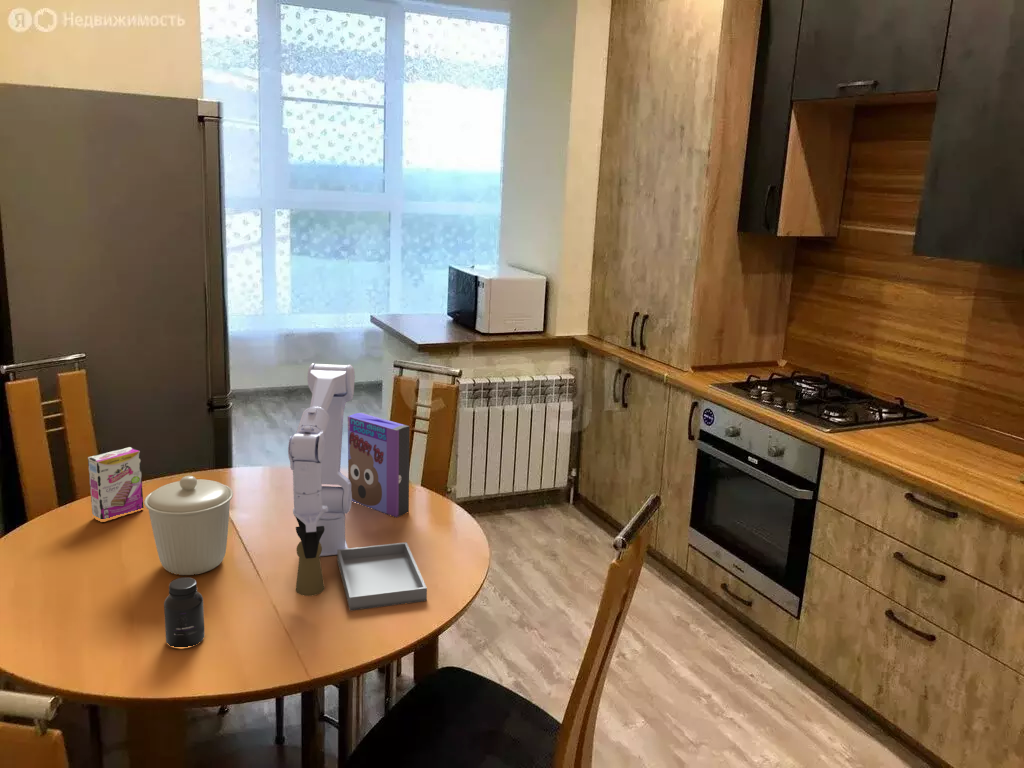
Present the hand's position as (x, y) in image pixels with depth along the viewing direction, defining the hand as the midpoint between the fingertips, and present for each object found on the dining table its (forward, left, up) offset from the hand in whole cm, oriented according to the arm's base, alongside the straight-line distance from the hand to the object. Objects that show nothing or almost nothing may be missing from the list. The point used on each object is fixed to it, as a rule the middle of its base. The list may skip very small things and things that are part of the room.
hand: (309, 549), depth 171 cm
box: (+15, 0, -9) cm, 18 cm away
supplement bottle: (-24, -14, -10) cm, 29 cm away
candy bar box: (-43, +49, -10) cm, 66 cm away
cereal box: (+21, +40, -10) cm, 46 cm away
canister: (-24, +17, -10) cm, 31 cm away
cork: (0, 0, -10) cm, 10 cm away
